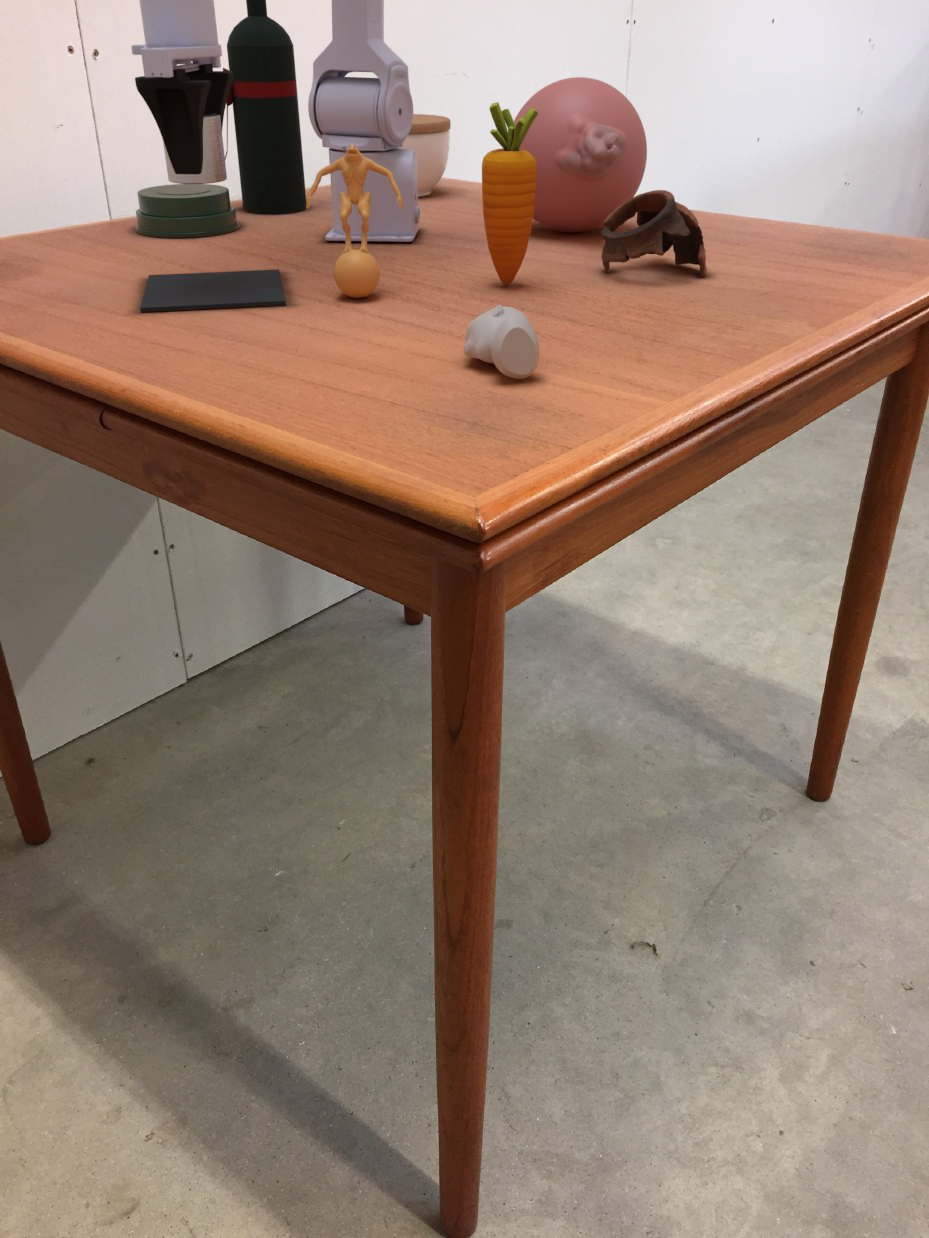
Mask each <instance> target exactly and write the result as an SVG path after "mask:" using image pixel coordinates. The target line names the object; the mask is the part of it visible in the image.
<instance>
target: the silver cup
mask: <svg viewBox="0 0 929 1238" xmlns="http://www.w3.org/2000/svg"><path fill="white" fill-rule="evenodd" d="M162 142H163V151H164V158H165V166H166V172H167V179H168V182H170V183H171V184H172V183H173V184H216V183H220V182H225V181H226V180H227V179H228V174H227V166H226V159H225V148H224V147H225V146H224V139H223V128H222V129H221V120H220V115H219V114H216V113H211V112H204V119H203V166H202V173H201V174H175V171H174V169H173V167H172V164H171V161H170V159H169V156H168V153H167V150H166V147H165V144H164V141H163V140H162Z"/></svg>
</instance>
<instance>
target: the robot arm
mask: <svg viewBox="0 0 929 1238" xmlns="http://www.w3.org/2000/svg"><path fill="white" fill-rule="evenodd" d="M138 1H139V7H140V12H141V13H140V14H141V15H140V16H141V21H142V29H143V35H144V42H145V44H132V45H131V46H130V47H131V53H132V55H133V56H141V62H142V68H143V75H141V76H136V77H135V78H134V82H135V87H136V90H137V92H138V93H139V95H140V97H141V98H142V99H143V101H144V102H145V104H146V106H147V107H148V110H149V111H150V113H151V115H152V117H153V119H154V121H155V123H156V125H157V128H158V130H159V133H160V135H161V138H162V142H163V141H164V144H165V147H166V150H167V153H168V156H169V159H170V161H171V164H172V167H173V169H174V171H175V174H201V173H202V166H203V119H204V112H211V113H216V114H219V115H220V120H221V129H222V130H223V126H224V118H225V110H226V107H227V104H226V102H227V98H228V95H229V92H230V89H231V86H232V84H233V79H234V78H233V72H231V71H223V70H222V71H221V70H214V69H219V68H222V62H221V57H222V56H223V51H222V45H221V44H219V36H218V29H217V28H218V27H217V20H216V19H217V18H216V9H215V1H214V0H138ZM384 26H385V0H331V37H332V39H331V41H330V42H329V44H328V45H327V46H326V47H325V48H324V49H323V50H322V52H320V54H319V55H318V56H317V57H316V58H315V59H314V60H313V62H312V83H311V87H310V88H311V89H310V92H309V95H308V101H307V102H308V103H307V108H308V109H307V110H308V116H309V117H308V118H309V121H310V124H311V127H312V129H313V131H314V133H315V135H316V136H317V137H318V138H319V139H320V140H321V143H322V148H327V149H328V158H329V159H328V160H329V165H330V164H332V163H334V162H335V161H336V160H338V159H340V158H342V157H344V156H345V154H346V152H347V149H348V147H349V146H350V145H355V146H356V147H357V148H358V150H359V152H360V153H361V154H362V155H363V156H364V157H366V158H368V159H371V160H373V161H374V162H375V163H377V164H378V165H381V166H383V167H385V168H386V169H388V170H389V171H390V172H391V173H392V174H393V177H394V180H395V183H396V184H397V186H398V188H399V191H400V194H401V196H402V199H403V204H404V209H402V208H401V206H400V208H399V201H398V202H397V199H398V196H397V195H396V194H395V192H394V190H393V188H392V186H391V183H390V182H389V179H388V176H385V175H382V174H380V173H377V172H375V171H373V170H368V171H367V176H366V179H365V183H364V186H363V195H364V193H365V192H369V193H370V194H371V202H370V216H369V219H368V221H367V223H368V225H369V230H368V231H367V242H387V243H390V242H391V243H392V242H393V243H394V242H395V243H410V242H413V241H414V239H415V237H416V235H417V234H418V231H419V230H420V219H421V218H420V217H421V214H420V213H421V211H420V205H419V197H418V173H417V157H416V152H415V150H412V149H399V147H402V146H403V142H404V140H405V139H406V137H407V135H408V134H409V132H410V129H411V126H412V122H413V114H414V102H413V97H412V94H411V88H410V79H409V78H410V77H409V66H408V64H407V63H406V62H405V61H404V60H403V59H402V58H401V57H400V56H399V55H398V54H397V53H396V52H395V51H393V49H392V48H390V47H389V46H388V44H386V42H385V27H384ZM351 73H372V74H374V75H375V76H376V77H357V76H347V75H348V74H351ZM329 175H330V176H329V177H330V192H331V206H332V207H331V208H332V223H333V225H332V226H333V227H332V228H331V229H330V230H329V231H328V233H326V235H325V236H324V239H325V241H327V242H328V241H329V242H330V241H331V242H345V238H346V233H345V231H344V230H343V228H342V225H343V223H342V221H341V219H340V212H339V211H340V199H339V194H340V193H341V192H345V194H346V195H347V186H346V184H345V180H344V178H343V176H342V172H341V170H337V171H334V172H332V173H330V174H329ZM357 206H358V204H356V205H355V204H353V203H352V212H351V214H350V215H349V216H348V218H347V223H348V224H349V225H350V234H351V242H361V241H362V230H361V225H362V223H363V220H362V217H361V215H360V214H359V212H358V208H357Z"/></svg>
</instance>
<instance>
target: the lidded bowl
mask: <svg viewBox="0 0 929 1238" xmlns="http://www.w3.org/2000/svg"><path fill="white" fill-rule="evenodd" d="M450 130H451V119H450V118H449V117H447V116H443V115H435V114H422V113H413V122H412V126H411V129H410V132H409V134H408V135H407V137H406V139H405V140H404V142H403V146H402V147H399V149H412V150H415V152H416V157H417V173H418V198H419V197H420V198H421V197H426V196H429V195H431V194H432V190H433V188H435V186H437V184H438V183H439V182H440V181H441V179H442V178H443V175H444V173H445V171H446V168H447V165H448V160H449V155H450V154H449V152H450Z"/></svg>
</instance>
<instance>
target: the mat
mask: <svg viewBox="0 0 929 1238" xmlns="http://www.w3.org/2000/svg"><path fill="white" fill-rule="evenodd" d="M279 306H280V307H282V306H287V301H286V296H285V292H284V287H283V281H282V277H281V272H280V270H279V269H261V270H260V269H259V270H257V269H256V270H235V271H213V272H212V271H210V272H192V273H191V272H189V273H187V272H186V273H166V274H165V273H163V274H149V275H148V277H147V281H146V285H145V289H144V292H143V296H142V299H141V303H140V307H139V310H140V313H157V312H177V311H178V312H179V311H198V310H218V309H221V310H222V309H238V308H240V309H241V308H256V307H257V308H259V307H260V308H261V307H279Z"/></svg>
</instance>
